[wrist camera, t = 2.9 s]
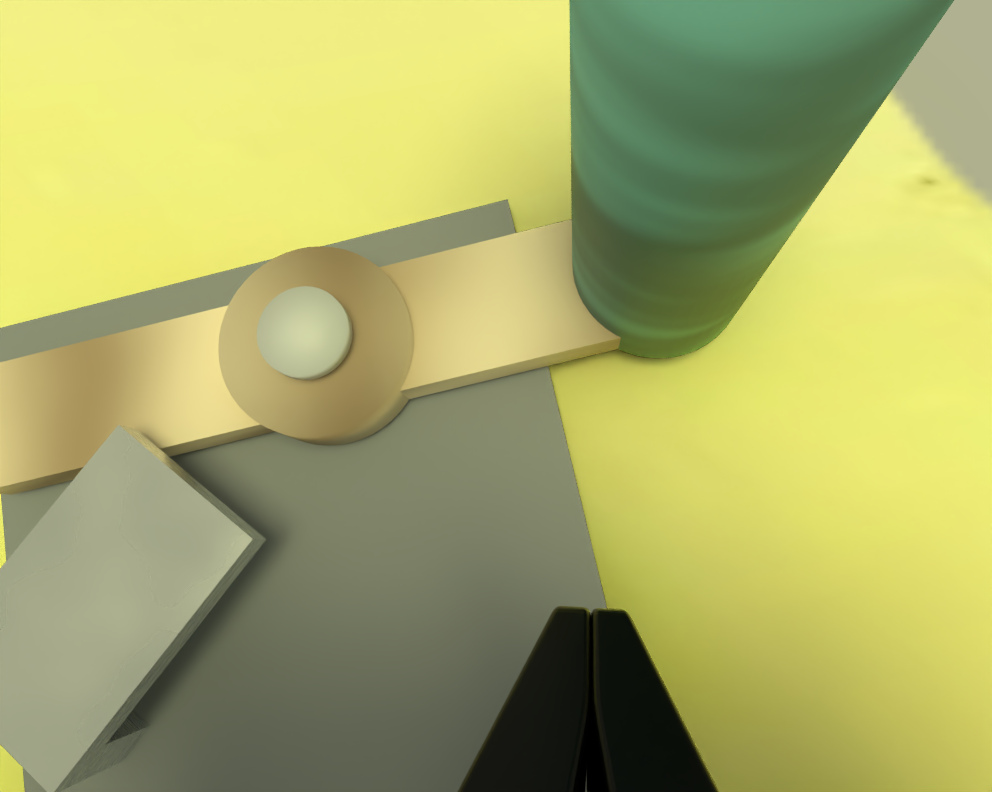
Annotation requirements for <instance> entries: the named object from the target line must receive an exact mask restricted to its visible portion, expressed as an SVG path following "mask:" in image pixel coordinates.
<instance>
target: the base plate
mask: <svg viewBox="0 0 992 792" xmlns="http://www.w3.org/2000/svg"><path fill="white" fill-rule="evenodd" d="M514 233H516V232H515V228H514V224H513V220H512V216H511V212H510V208H509V203H508V199H507V200H504V201H500V202H496V203H492V204H488V205H484V206H480V207H476V208H472V209H468V210H464V211H460V212H456V213H452V214H448V215H444V216H440V217H436V218H433V219H429V220H425V221H421V222H417V223H413V224H409V225H405V226H401V227H397V228H393V229H389V230H385V231H381V232H377V233H373V234H369V235H365V236H362V237H358V238H354V239H350V240H346V241H342V242H338V243H334V244H330V245H326V246H322V247H334V248H340V249H345V250H348V251H351V252H354V253H356V254H358V255H360V256H362V257H364V258H366V259H368V260H369V261H371V262H372V263H374V264H375V265H377V266H378V267H383V266H387V265H391V264H395V263H399V262H403V261H407V260H411V259H415V258H419V257H423V256H427V255H431V254H435V253H439V252H443V251H446V250H450V249H454V248H458V247H462V246H466V245H470V244H474V243H478V242H482V241H486V240H490V239H494V238H498V237H502V236H506V235H510V234H514ZM271 260H272V259H271ZM269 261H270V260H267V261H263V262H259V263H255V264H251V265H247V266H243V267H239V268H235V269H231V270H227V271H223V272H219V273H216V274H212V275H208V276H204V277H200V278H196V279H192V280H188V281H184V282H180V283H176V284H172V285H168V286H164V287H160V288H156V289H152V290H148V291H145V292H141V293H137V294H133V295H129V296H125V297H121V298H117V299H113V300H109V301H105V302H101V303H97V304H93V305H89V306H85V307H81V308H77V309H74V310H70V311H66V312H62V313H58V314H54V315H50V316H46V317H42V318H38V319H34V320H30V321H26V322H22V323H18V324H14V325H10V326H6V327H3V328H0V362H4V361H8V360H12V359H16V358H20V357H24V356H28V355H32V354H36V353H40V352H44V351H48V350H52V349H56V348H60V347H64V346H68V345H72V344H76V343H80V342H84V341H88V340H92V339H96V338H100V337H104V336H108V335H112V334H116V333H120V332H124V331H127V330H131V329H135V328H139V327H143V326H147V325H151V324H155V323H159V322H163V321H167V320H171V319H175V318H179V317H183V316H187V315H191V314H195V313H199V312H203V311H207V310H211V309H215V308H219V307H223V306H227V305H229V303H230V301H231V300H232V298H233V297H234V295H235V293H236V292H237V290H238V289H239V288H240V287H241V285H242V284H243V283H244V281H245V280H246V279H247V278H248V277H249V276H250V275H251V274H252V273H254V272H255V271H256V270H257V269H259V268H260V267H261V266H262V265H264V264H266V263H267V262H269ZM351 342H352V324H351V320H350V318H349V315H348V313H347V311H346V310H345V308H344V307H343V306H342V305H341V304H340V303H339V302H338V301H337V300H336V299H335V298H334V297H333V296H332V295H331V294H329V293H328V292H326V291H324V290H322V289H319V288H316V287H310V286H301V287H295V288H291V289H288V290H286V291H284V292H282V293H280V294H279V295H277V296H276V297H275V298H274V299H272V300H271V302H270V303H269V304H268V305H267V306H266V307H265V309H264V311H263V312H262V314H261V317H260V319H259V322H258V326H257V343H258V347H259V350H260V353H261V354H262V356H263V358H264V359H265V361H266V362H267V363H268V364H269V365H270V366H271V367H273V368H274V369H275V370H277V371H279V372H280V373H282V374H284V375H286V376H288V377H290V378H293V379H298V380H312V379H317V378H320V377H322V376H325V375H327V374H328V373H330V372H332V371H333V370H334V369H335V368H337V367H338V366H339V365H340V364H341V362H342V361H343V360H344V358H345V357H346V355H347V353H348V351H349V349H350V345H351ZM170 458H171V459H172V460H173V461H175V462H176V463H177V464H178V465H179V466H180V467H182V468H183V469H184V470H185V471H186V472H188V473H189V474H190V475H191V476H192V477H193V478H195V479H196V480H197V481H198V482H199V483H200V484H202V485H203V486H204V487H205V488H206V489H208V490H209V491H210V492H211V493H212V494H213V495H215V496H216V497H217V498H218V499H219V500H221V501H222V502H223V503H224V504H225V505H226V506H228V507H229V508H230V509H231V510H232V511H233V512H235V513H236V514H237V515H238V516H239V517H241V518H242V519H243V520H244V521H245V522H246V523H248V524H249V525H250V526H251V527H252V528H254V529H255V530H256V531H257V532H258V533H259V534H261V535H262V536H263V537H264V538H265V539H266V540H265V542H264V543H263V544H262V545H261V547H260V548H259V549H258V551H257V552H256V553H255V554H254V556H253V557H252V558H251V559H250V561H249V562H248V563H247V565H246V566H245V567H244V568H243V570H242V571H241V572H240V573H239V575H238V576H237V577H236V579H235V580H234V581H233V582H232V584H231V585H230V586H229V588H228V589H227V590H226V591H225V593H224V594H223V595H222V596H221V598H220V599H219V600H218V602H217V603H216V604H215V605H214V607H213V608H212V609H211V610H210V612H209V613H208V614H207V616H206V617H205V618H204V619H203V621H202V622H201V623H200V625H199V626H198V627H197V628H196V630H195V631H194V632H193V633H192V635H191V636H190V637H189V639H188V640H187V641H186V642H185V644H184V645H183V646H182V647H181V649H180V650H179V651H178V653H177V654H176V655H175V656H174V658H173V659H172V660H171V662H170V663H169V664H168V665H167V667H166V668H165V669H164V670H163V672H162V673H161V674H160V676H159V677H158V678H157V679H156V681H155V682H154V683H153V684H152V686H151V687H150V688H149V690H148V691H147V692H146V693H145V695H144V696H143V697H142V699H141V700H140V701H139V702H138V704H137V705H136V706H135V707H134V709H133V710H134V711H135V712H136V713H137V714H138V715H139V716H141V717H142V718H143V719H144V720H145V721H146V722H147V723H148V724H149V725H150V726H149V728H148V729H147V730H146V731H145V733H144V734H143V735H142V737H141V738H140V739H139V740H138V742H137V743H136V744H135V746H134V747H133V748H132V749H131V751H130V752H129V753H128V755H127V756H126V757H125V758H124V760H123V761H122V762H120V763H118V764H116V765H114V766H112V767H110V768H108V769H106V770H104V771H102V772H100V773H98V774H95V775H93V776H91V777H89V778H87V779H85V780H83V781H81V782H79V783H77V784H75V785H73V786H70V787H68V788H66V789H64V790H62V791H60V792H457V791H458V789H459V788H460V786H461V784H462V782H463V780H464V778H465V776H466V774H467V772H468V770H469V769H470V767H471V765H472V763H473V761H474V759H475V757H476V755H477V753H478V751H479V750H480V748H481V746H482V744H483V742H484V740H485V738H486V736H487V734H488V732H489V731H490V729H491V727H492V725H493V723H494V721H495V719H496V717H497V715H498V713H499V712H500V710H501V708H502V706H503V704H504V702H505V700H506V698H507V696H508V694H509V693H510V691H511V689H512V687H513V685H514V683H515V681H516V679H517V677H518V675H519V674H520V672H521V670H522V668H523V666H524V664H525V662H526V660H527V658H528V656H529V655H530V653H531V651H532V649H533V647H534V645H535V643H536V641H537V639H538V637H539V636H540V634H541V632H542V630H543V628H544V626H545V624H546V622H547V620H548V618H549V617H550V615H551V613H552V611H553V610H554V609H555V608H556V607H558V606H573V607H585V608H587V609H589V611H590V614H591V612H592V611H593V610H594V609H596V608H606V609H607V606H606V602H605V598H604V594H603V590H602V586H601V582H600V577H599V573H598V569H597V565H596V561H595V557H594V553H593V549H592V545H591V540H590V536H589V532H588V528H587V524H586V520H585V516H584V512H583V508H582V503H581V499H580V495H579V491H578V487H577V483H576V479H575V475H574V471H573V466H572V462H571V458H570V454H569V450H568V446H567V442H566V438H565V434H564V429H563V425H562V421H561V417H560V413H559V409H558V405H557V401H556V397H555V392H554V388H553V384H552V380H551V376H550V372H549V368H548V366H545V367H541V368H537V369H533V370H529V371H525V372H520V373H516V374H512V375H508V376H504V377H500V378H495V379H491V380H487V381H483V382H479V383H475V384H470V385H466V386H462V387H458V388H454V389H450V390H445V391H441V392H437V393H433V394H429V395H425V396H420V397H416V398H412V399H409V400H408V402H407V403H406V405H405V406H404V407H403V409H402V410H401V411H400V412H399V414H398V415H397V416H396V417H395V418H394V419H393V420H392V421H391V422H389V423H388V424H387V425H386V426H384V427H383V428H382V429H380V430H379V431H377V432H375V433H374V434H372V435H370V436H368V437H365V438H363V439H361V440H358V441H355V442H351V443H347V444H341V445H327V446H325V445H315V444H310V443H306V442H302V441H300V440H297V439H294V438H292V437H289V436H286V435H284V434H281V433H279V432H276V431H275V432H271V433H266V434H262V435H258V436H254V437H250V438H246V439H241V440H237V441H233V442H229V443H225V444H221V445H216V446H212V447H208V448H204V449H200V450H196V451H191V452H187V453H183V454H179V455H175V456H171V457H170ZM72 481H73V480H71V481H66V482H62V483H58V484H54V485H50V486H46V487H41V488H37V489H33V490H29V491H25V492H21V493H16V494H12V495H10V494H1V499H2V512H3V524H4V537H5V549H6V561H7V560H8V559H9V558H10V556H11V555H12V554H13V553H14V551H15V550H16V549H17V548H18V547H19V545H20V544H21V543H22V542H23V540H24V539H25V538H26V537H27V536H28V534H29V533H30V532H31V531H32V529H33V528H34V527H35V526H36V525H37V523H38V522H39V521H40V520H41V518H42V517H43V516H44V515H45V514H46V512H47V511H48V510H49V509H50V508H51V506H52V505H53V504H54V503H55V501H56V500H57V499H58V498H59V497H60V495H61V494H62V493H63V492H64V490H65V489H66V488H67V487H68V486H69V484H70V483H71V482H72ZM23 775H24V787H25V792H47V791H46V790H45V789H44V788H43V787H42V786H41V785H40V784H39V783H38V782H37V781H36V780H35V779H34V778H33V777H32V776H31V775H30V774H29V773H28V772H27V771H26V770H25V769H24V768H23ZM586 775H587V773H586ZM585 792H587V788H586V791H585Z"/></svg>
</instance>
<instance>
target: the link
mask: <svg viewBox="0 0 992 792" xmlns="http://www.w3.org/2000/svg"><path fill="white" fill-rule="evenodd" d="M953 1H954V0H570V90H571V191H572V219H570V220H566V221H562V222H558V223H554V224H550V225H546V226H542V227H538V228H534V229H530V230H526V231H522V232H518V233H514V234H510V235H506V236H502V237H498V238H494V239H490V240H486V241H482V242H478V243H474V244H470V245H466V246H462V247H458V248H454V249H450V250H446V251H443V252H439V253H435V254H431V255H427V256H423V257H419V258H415V259H411V260H407V261H403V262H399V263H395V264H391V265H387V266H383V267H378V266H377V265H375V264H374V263H372V262H371V261H369V260H368V259H366V258H364V257H362V256H360V255H358V254H356V253H354V252H351V251H348V250H345V249H340V248H334V247H322V246H320V247H307V248H302V249H297V250H294V251H291V252H287V253H285V254H282V255H280V256H278V257H276V258H274V259H272V260H270V261H269V262H267V263H266V264H264V265H262V266H261V267H260V268H259V269H257V270H256V271H255V272H254V273H252V274H251V275H250V276H249V277H248V278H247V279H246V280H245V281H244V283H243V284H242V285H241V287H240V288H239V289H238V290H237V292H236V293H235V295H234V297H233V298H232V300H231V301H230V303H229V305H227V306H223V307H219V308H215V309H211V310H207V311H203V312H199V313H195V314H191V315H187V316H183V317H179V318H175V319H171V320H167V321H163V322H159V323H155V324H151V325H147V326H143V327H139V328H135V329H131V330H127V331H124V332H120V333H116V334H112V335H108V336H104V337H100V338H96V339H92V340H88V341H84V342H80V343H76V344H72V345H68V346H64V347H60V348H56V349H52V350H48V351H44V352H40V353H36V354H32V355H28V356H24V357H20V358H16V359H12V360H8V361H4V362H0V494H10V495H12V494H16V493H21V492H25V491H29V490H33V489H37V488H41V487H46V486H50V485H54V484H58V483H62V482H66V481H71V480H73V479H74V478H75V477H76V476H77V475H78V473H79V472H80V471H81V470H82V468H83V467H84V466H85V465H86V464H87V462H88V461H89V460H90V459H91V458H92V456H93V455H94V454H95V453H96V451H97V450H98V449H99V448H100V447H101V445H102V444H103V443H104V442H105V440H106V439H107V438H108V437H109V436H110V434H111V433H112V432H113V431H114V429H115V428H116V427H117V426H118V425H122V426H125V427H129V428H133V429H137V430H138V431H139V432H140V433H142V434H143V435H144V436H145V437H146V438H147V439H149V440H150V441H151V442H152V443H153V444H155V445H156V446H157V447H158V448H159V449H160V450H162V451H163V452H164V453H165V454H166V455H167V456H169V457H171V456H175V455H179V454H183V453H187V452H191V451H196V450H200V449H204V448H208V447H212V446H216V445H221V444H225V443H229V442H233V441H237V440H241V439H246V438H250V437H254V436H258V435H262V434H266V433H271V432H275V431H276V432H279V433H281V434H284V435H286V436H289V437H292V438H294V439H297V440H300V441H302V442H306V443H310V444H315V445H325V446H327V445H341V444H347V443H351V442H355V441H358V440H361V439H363V438H365V437H368V436H370V435H372V434H374V433H375V432H377V431H379V430H380V429H382V428H383V427H384V426H386V425H387V424H388V423H389V422H391V421H392V420H393V419H394V418H395V417H396V416H397V415H398V414H399V412H400V411H401V410H402V409H403V407H404V406H405V405H406V403H407V402H408V400H409V399H412V398H416V397H420V396H425V395H429V394H433V393H437V392H441V391H445V390H450V389H454V388H458V387H462V386H466V385H470V384H475V383H479V382H483V381H487V380H491V379H495V378H500V377H504V376H508V375H512V374H516V373H520V372H525V371H529V370H533V369H537V368H541V367H545V366H550V365H554V364H558V363H562V362H566V361H570V360H575V359H579V358H583V357H587V356H591V355H595V354H600V353H604V352H608V351H612V350H616V349H620V350H622V351H624V352H627V353H629V354H632V355H636V356H641V357H646V358H670V357H676V356H681V355H684V354H687V353H691V352H693V351H695V350H697V349H699V348H701V347H703V346H705V345H706V344H708V343H709V342H711V341H712V340H713V339H715V338H716V337H717V336H718V335H719V334H720V333H721V332H722V331H723V330H724V329H725V328H726V327H727V325H728V324H729V323H730V321H731V320H732V318H733V317H734V315H735V314H736V313H737V311H738V310H739V308H740V307H741V305H742V304H743V302H744V301H745V300H746V298H747V297H748V295H749V294H750V292H751V291H752V290H753V288H754V287H755V285H756V284H757V282H758V281H759V280H760V278H761V277H762V275H763V274H764V272H765V271H766V269H767V268H768V267H769V265H770V264H771V262H772V261H773V259H774V258H775V257H776V255H777V254H778V252H779V251H780V249H781V248H782V247H783V245H784V244H785V242H786V241H787V239H788V238H789V236H790V235H791V234H792V232H793V231H794V229H795V228H796V226H797V225H798V224H799V222H800V221H801V219H802V218H803V216H804V215H805V214H806V212H807V211H808V209H809V208H810V206H811V205H812V203H813V202H814V201H815V199H816V198H817V196H818V195H819V193H820V192H821V191H822V189H823V188H824V186H825V185H826V183H827V182H828V181H829V179H830V178H831V176H832V175H833V173H834V172H835V170H836V169H837V168H838V166H839V165H840V163H841V162H842V160H843V159H844V158H845V156H846V155H847V153H848V152H849V150H850V149H851V148H852V146H853V145H854V143H855V142H856V140H857V139H858V137H859V136H860V135H861V133H862V132H863V130H864V129H865V127H866V126H867V125H868V123H869V122H870V120H871V119H872V117H873V116H874V115H875V113H876V112H877V110H878V109H879V107H880V106H881V104H882V103H883V102H884V100H885V99H886V97H887V96H888V94H889V93H890V92H891V90H892V89H893V87H894V86H895V84H896V83H897V81H898V80H899V79H900V77H901V76H902V74H903V73H904V71H905V70H906V69H907V67H908V66H909V64H910V63H911V61H912V60H913V58H914V57H915V56H916V54H917V52H918V51H919V50H920V48H921V47H922V46H923V44H924V43H925V41H926V40H927V38H928V37H929V35H930V34H931V33H932V31H933V30H934V28H935V27H936V25H937V24H938V23H939V21H940V20H941V18H942V17H943V15H944V14H945V13H946V11H947V9H948V8H949V7H950V5H951V4H952V3H953ZM301 286H310V287H316V288H319V289H322V290H324V291H326V292H328V293H329V294H331V295H332V296H333V297H334V298H335V299H336V300H337V301H338V302H339V303H340V304H341V305H342V306H343V307H344V308H345V310H346V311H347V313H348V315H349V318H350V320H351V324H352V342H351V345H350V349H349V351H348V353H347V355H346V357H345V358H344V360H343V361H342V362H341V364H340V365H339V366H338V367H337V368H335V369H334V370H333V371H332V372H330V373H328V374H327V375H325V376H322V377H320V378H317V379H312V380H298V379H293V378H290V377H288V376H286V375H284V374H282V373H280V372H279V371H277V370H275V369H274V368H273V367H271V366H270V365H269V364H268V363H267V362H266V361H265V359H264V358H263V356H262V354H261V353H260V350H259V347H258V343H257V326H258V322H259V319H260V317H261V314H262V312H263V311H264V309H265V307H266V306H267V305H268V304H269V303H270V302H271V300H272V299H274V298H275V297H276V296H277V295H279V294H280V293H282V292H284V291H286V290H288V289H291V288H295V287H301Z"/></svg>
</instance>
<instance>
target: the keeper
mask: <svg viewBox="0 0 992 792" xmlns="http://www.w3.org/2000/svg"><path fill="white" fill-rule="evenodd" d="M265 540H266V539H265V538H264V537H263V536H262V535H261V534H259V533H258V532H257V531H256V530H255V529H254V528H252V527H251V526H250V525H249V524H248V523H246V522H245V521H244V520H243V519H242V518H241V517H239V516H238V515H237V514H236V513H235V512H233V511H232V510H231V509H230V508H229V507H228V506H226V505H225V504H224V503H223V502H222V501H221V500H219V499H218V498H217V497H216V496H215V495H213V494H212V493H211V492H210V491H209V490H208V489H206V488H205V487H204V486H203V485H202V484H200V483H199V482H198V481H197V480H196V479H195V478H193V477H192V476H191V475H190V474H189V473H188V472H186V471H185V470H184V469H183V468H182V467H180V466H179V465H178V464H177V463H176V462H175V461H173V460H172V459H171V458H170V457H169V456H167V455H166V454H165V453H164V452H163V451H162V450H160V449H159V448H158V447H157V446H156V445H155V444H153V443H152V442H151V441H150V440H149V439H147V438H146V437H145V436H144V435H143V434H142V433H140V432H139V431H138V430H137V429H133V428H129V427H125V426H122V425H118V426H117V427H116V428H115V429H114V431H113V432H112V433H111V434H110V436H109V437H108V438H107V439H106V440H105V442H104V443H103V444H102V445H101V447H100V448H99V449H98V450H97V451H96V453H95V454H94V455H93V456H92V458H91V459H90V460H89V461H88V462H87V464H86V465H85V466H84V467H83V468H82V470H81V471H80V472H79V473H78V475H77V476H76V477H75V478H74V479H73V481H72V482H71V483H70V484H69V486H68V487H67V488H66V489H65V490H64V492H63V493H62V494H61V495H60V497H59V498H58V499H57V500H56V501H55V503H54V504H53V505H52V506H51V508H50V509H49V510H48V511H47V512H46V514H45V515H44V516H43V517H42V518H41V520H40V521H39V522H38V523H37V525H36V526H35V527H34V528H33V529H32V531H31V532H30V533H29V534H28V536H27V537H26V538H25V539H24V540H23V542H22V543H21V544H20V545H19V547H18V548H17V549H16V550H15V551H14V553H13V554H12V555H11V556H10V558H9V559H8V560H7V561H6V562H5V564H4V565H3V566H2V567H1V568H0V745H1V746H2V747H3V748H4V749H5V750H6V751H7V752H8V753H9V754H10V755H11V756H12V757H13V758H14V759H15V760H16V761H17V762H18V763H19V764H20V765H21V766H22V767H23V768H24V769H25V770H26V771H27V772H28V773H29V774H30V775H31V776H32V777H33V778H34V779H35V780H36V781H37V782H38V783H39V784H40V785H41V786H42V787H43V788H44V789H45V790H46V791H47V792H60V791H62V790H64V789H66V788H68V787H70V786H73V785H75V784H77V783H79V782H81V781H83V780H85V779H87V778H89V777H91V776H93V775H95V774H98V773H100V772H102V771H104V770H106V769H108V768H110V767H112V766H114V765H116V764H118V763H120V762H122V761H123V760H124V758H125V757H126V756H127V755H128V753H129V752H130V751H131V749H132V748H133V747H134V746H135V744H136V743H137V742H138V740H139V739H140V738H141V737H142V735H143V734H144V733H145V731H146V730H147V729H148V728H149V726H150V725H149V724H148V723H147V722H146V721H145V720H144V719H143V718H142V717H141V716H139V715H138V714H137V713H136V712H135V711H134V710H133V709H134V707H135V706H136V705H137V704H138V702H139V701H140V700H141V699H142V697H143V696H144V695H145V693H146V692H147V691H148V690H149V688H150V687H151V686H152V684H153V683H154V682H155V681H156V679H157V678H158V677H159V676H160V674H161V673H162V672H163V670H164V669H165V668H166V667H167V665H168V664H169V663H170V662H171V660H172V659H173V658H174V656H175V655H176V654H177V653H178V651H179V650H180V649H181V647H182V646H183V645H184V644H185V642H186V641H187V640H188V639H189V637H190V636H191V635H192V633H193V632H194V631H195V630H196V628H197V627H198V626H199V625H200V623H201V622H202V621H203V619H204V618H205V617H206V616H207V614H208V613H209V612H210V610H211V609H212V608H213V607H214V605H215V604H216V603H217V602H218V600H219V599H220V598H221V596H222V595H223V594H224V593H225V591H226V590H227V589H228V588H229V586H230V585H231V584H232V582H233V581H234V580H235V579H236V577H237V576H238V575H239V573H240V572H241V571H242V570H243V568H244V567H245V566H246V565H247V563H248V562H249V561H250V559H251V558H252V557H253V556H254V554H255V553H256V552H257V551H258V549H259V548H260V547H261V545H262V544H263V543H264V542H265Z"/></svg>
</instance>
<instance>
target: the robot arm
mask: <svg viewBox="0 0 992 792" xmlns="http://www.w3.org/2000/svg"><path fill="white" fill-rule="evenodd" d="M586 773H587V775H586ZM586 788H587V792H719V791H718V789H717V787H716V785H715V783H714V781H713V779H712V777H711V775H710V773H709V771H708V769H707V767H706V765H705V763H704V761H703V759H702V757H701V755H700V753H699V751H698V749H697V747H696V745H695V743H694V742H693V740H692V738H691V736H690V734H689V732H688V730H687V728H686V726H685V724H684V722H683V720H682V718H681V716H680V714H679V712H678V710H677V708H676V706H675V704H674V702H673V700H672V698H671V696H670V694H669V692H668V690H667V688H666V686H665V684H664V682H663V680H662V678H661V676H660V674H659V672H658V670H657V668H656V666H655V664H654V662H653V660H652V658H651V656H650V654H649V652H648V650H647V648H646V646H645V644H644V642H643V640H642V638H641V636H640V634H639V632H638V630H637V628H636V626H635V624H634V622H633V620H632V618H631V617H630V615H629V614H628V613H627V612H626V611H625V610H622V609H606V608H596V609H594V610H593V611H592V612H591V614H590V611H589V609H587V608H585V607H573V606H558V607H556V608H555V609H554V610H553V611H552V613H551V615H550V617H549V618H548V620H547V622H546V624H545V626H544V628H543V630H542V632H541V634H540V636H539V637H538V639H537V641H536V643H535V645H534V647H533V649H532V651H531V653H530V655H529V656H528V658H527V660H526V662H525V664H524V666H523V668H522V670H521V672H520V674H519V675H518V677H517V679H516V681H515V683H514V685H513V687H512V689H511V691H510V693H509V694H508V696H507V698H506V700H505V702H504V704H503V706H502V708H501V710H500V712H499V713H498V715H497V717H496V719H495V721H494V723H493V725H492V727H491V729H490V731H489V732H488V734H487V736H486V738H485V740H484V742H483V744H482V746H481V748H480V750H479V751H478V753H477V755H476V757H475V759H474V761H473V763H472V765H471V767H470V769H469V770H468V772H467V774H466V776H465V778H464V780H463V782H462V784H461V786H460V788H459V789H458V791H457V792H585V791H586Z"/></svg>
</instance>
